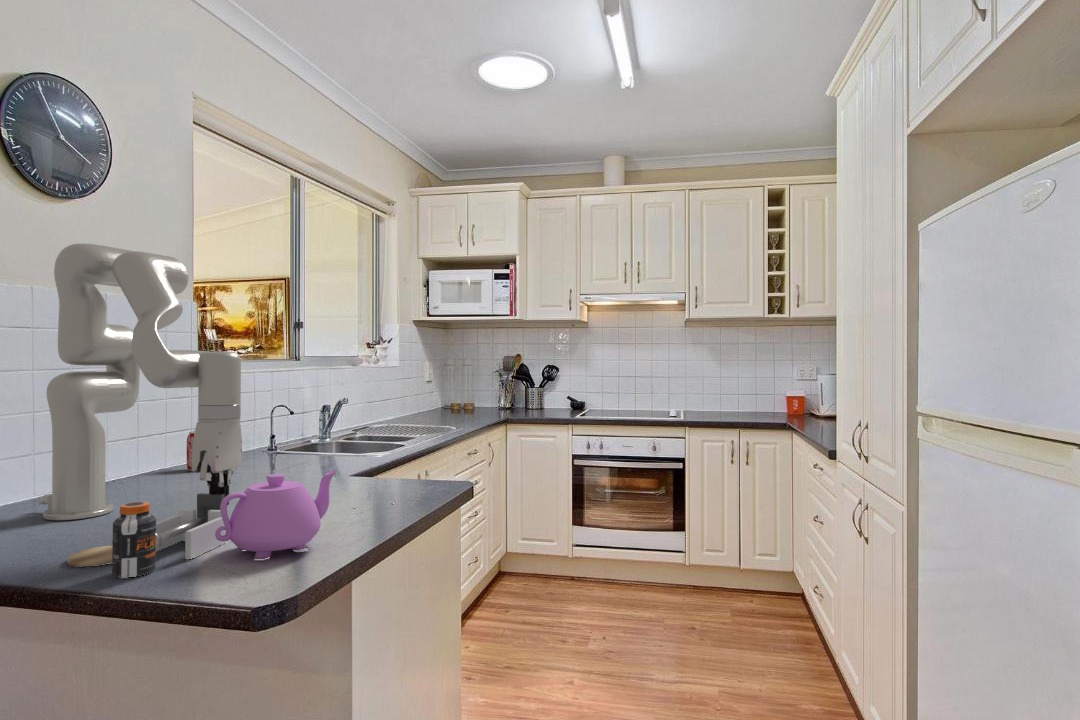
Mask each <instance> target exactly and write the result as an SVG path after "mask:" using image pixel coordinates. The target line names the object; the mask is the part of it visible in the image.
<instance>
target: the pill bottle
mask: <svg viewBox="0 0 1080 720" xmlns="http://www.w3.org/2000/svg"><path fill="white" fill-rule="evenodd" d="M119 514H120V516H119V517H118V518H116V519H115V520H114V521H113V523H112V541H111V542H112V543H111V546H112V564H111V574H112V575H111V576H113V577H114V578H116V577H119V578H118V579H129V578H128V577H135V578H137V577H136V576H140V577H142V576H141V575H144V576H146V575H145V574H147V575H149V574H151V573H153V572H154V571H155V570H156V561H157V559H156V555H157V554H156V553H157V552H156V522H157V517H156V516H155V515H153V514H151V513H150V502H147V501H134V502H133V501H132V502H126V503H123V504H121V505H120V506H119ZM152 571H153V572H152ZM150 572H151V573H150ZM148 573H149V574H148Z"/></svg>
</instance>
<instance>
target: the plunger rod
mask: <svg viewBox="0 0 1080 720" xmlns="http://www.w3.org/2000/svg"><path fill="white" fill-rule="evenodd" d="M223 499H224V494H211V493H209V492H207V493H205V492H203V493H202V492H201V493H197V494H196V519H194V520H191V521H189V522H186V523H184V524H181V525H179V526H176V527H174V528H171V529H168V530H166V531H163V532H161V533H157V532H156V553H158V552H159V551H158V550H159V549H160V547H161V543H162V542H163V541H166V540H168V539H171V538H173V537H175V536H178V535H180V534H182V533H185V531H187V530H190V529H192V528H195V527H197V526H199V525H202V524H204V523H207V522H208V511H209V510H220V504H221V502H222V500H223ZM157 551H158V552H157Z"/></svg>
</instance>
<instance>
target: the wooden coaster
mask: <svg viewBox="0 0 1080 720" xmlns="http://www.w3.org/2000/svg"><path fill="white" fill-rule="evenodd" d="M111 562H112V545H103V546H96V547H90V548H85V549H81V550H79V551H76V552H73V553H71V554H70V555H68V557H67V565H68V566H69V565H70V566H69V567H71V566H77V567H76V568H78V566H94V565H102V564H106V563H111Z"/></svg>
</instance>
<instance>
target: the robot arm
mask: <svg viewBox="0 0 1080 720" xmlns="http://www.w3.org/2000/svg"><path fill="white" fill-rule="evenodd" d="M53 270H54V271H53V275H54V276H53V277H54V283H55V286H56V291H57V295H58V296H57V297H58V303H59V304H58V307H59V308H58V320H57V321H58V326H57V352H58V356H59V359H60V360H61V361H62V362H63V363H64V364H68V365H72V366H82V367H83V366H85V367H86V366H105V368H106V370H105V371H70V372H64V373H61V374H59V375H56V376H54V377H53V378H52V379H50V381H49V382H48V385H47V387H46V401H47V404H48V409H49V415H50V419H51V421H50V422H51V435H52V436H51V438H52V440H51V444H52V445H51V446H52V447H51V448H52V449H51V450H52V456H51V458H52V461H51V465H52V466H51V467H52V468H51V469H52V471H51V472H52V473H51V474H52V476H51V479H52V480H51V481H52V483H51V486H52V487H51V491H52V492H51V494H49V493H46V494H44V495H43V496H42V497H41V498H39V499H38V502H37V503H38V504H39V505H47V509H46V510H45V511H43V512H42V517H43V519H44V520H47V521H71V520H81V519H90V518H94V517H100V516H103V515H106V514H109V513H111V512H112V511H113V510H114V504H112V503H111V502H106V432H105V430H104V427H103V425H102V424H101V422H100V421H99V420H98V418H97V417H96V415H95V414H104V413H117V412H123V411H124V412H125V411H127V410H129V409H131V408H133V406H135V404H136V402H137V399H138V397H139V393H140V375H141V373H142V374H143V376H144V377H145V378H146V380H147V381H148V382H149V383H150V384H152V386H154V387H157V388H160V389H178V388H179V389H180V388H182V389H183V388H198V390H197V391H198V392H197V393H198V394H197V395H198V398H197V403H198V405H197V422H196V425H195V429H194V431H195V433H194V441H193V452H192V471H193V472H192V471H191V472H192V473H195V474H199V480H200V481H203V482H206V486H207V487H208V493H211V494H224V498H225V497H226V496H227V495H229V494H230V485H231V484H232V483H231V482H232V475H233V474H234V473H236V472H237V471H238V467H239V466H240V465H241V464H242V459H243V440H242V439H243V438H242V437H243V436H242V435H243V434H242V427H241V418H242V417H241V413H242V412H241V409H242V408H241V405H242V404H241V401H242V399H241V397H242V395H241V393H242V392H241V388H242V387H241V384H242V383H241V381H242V378H241V377H242V374H241V373H242V359H241V356H240V355H239V353H237V352H232V351H208V350H192V349H191V350H188V349H186V350H185V349H167V347H166V345H165V344H164V342H163V341H162V339H161V337H160V334H159V332H158V331H159V330H162V329H164V328H165V327H166V328H167V327H168V326H170V325H171V324H173V323H175V322H176V321H177V320H179V318H180V317H181V316H182V313H183V310H184V308H183V304H182V302H181V301H180V299H179V298H178V296H177V295H178V294H181V293H183V292H184V291H185V290H186V289H187V287H188V284H189V274H188V270H187V268H186V266H185V265H184V263H183V262H182V261H180V260H179V259H178V258H176V257H173V256H169V255H162V254H157V253H156V254H155V253H151V252H146V251H145V252H144V251H134V250H129V249H123V248H118V247H112V246H108V245H107V246H105V245H102V244H101V245H100V244H92V243H73V244H70V245H67V246H65V247H63V248H62V250H61V251H59V253H58V254H57V257H56V259H55V263H54V268H53ZM96 285H102V286H103V285H104V286H108V287H109V286H110V287H119V288H120V289H121V291H122V293H123V295H124V296H125V299H126V300H127V302H128V304H129V306H130V308H131V309H132V311H133V313H134V315H135V316H136V318H137V320H138V321H137V322H136V324H135V325H134V329H132V328H130V327H128V326H126V325H122V324H121V325H120V324H109V323H108V324H107V303H106V301H105V298H104V297H103V295H102V293H101V292H100V290H99V289H98V288H97V286H96ZM140 371H141V373H140ZM229 505H230V501H229V502H228V504H227V506H229Z"/></svg>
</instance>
